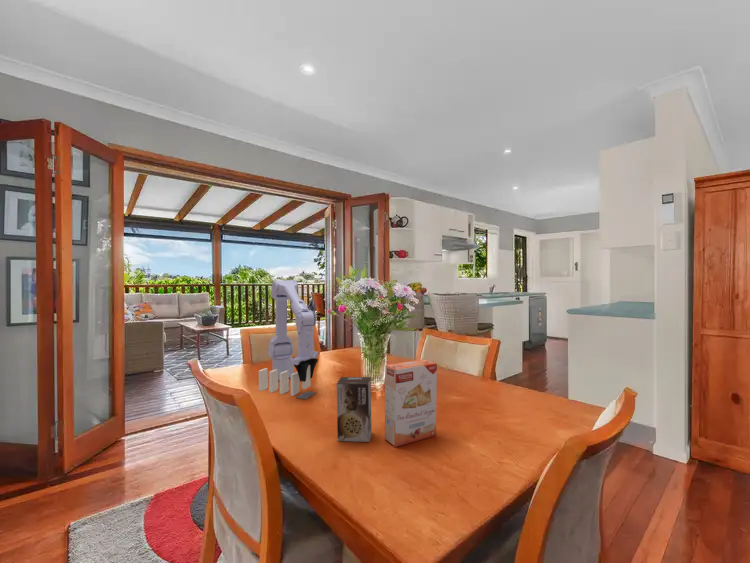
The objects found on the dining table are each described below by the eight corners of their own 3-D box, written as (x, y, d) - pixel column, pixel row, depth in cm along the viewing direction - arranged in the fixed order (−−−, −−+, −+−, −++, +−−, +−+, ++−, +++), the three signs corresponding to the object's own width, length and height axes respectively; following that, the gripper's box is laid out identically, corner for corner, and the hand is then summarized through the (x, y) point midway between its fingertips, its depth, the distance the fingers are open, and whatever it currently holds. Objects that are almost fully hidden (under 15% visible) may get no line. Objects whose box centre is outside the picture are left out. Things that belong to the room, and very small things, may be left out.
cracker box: (396, 448, 92) (395, 369, 91) (384, 439, 97) (383, 364, 97) (437, 436, 99) (437, 362, 98) (424, 428, 104) (424, 358, 104)
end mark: (306, 392, 137) (306, 391, 137) (315, 393, 135) (315, 392, 135) (296, 397, 130) (296, 397, 130) (305, 399, 129) (305, 398, 129)
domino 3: (286, 390, 139) (285, 370, 138) (288, 391, 138) (288, 370, 138) (279, 393, 135) (279, 373, 135) (282, 394, 134) (282, 373, 134)
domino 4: (296, 392, 137) (296, 371, 137) (299, 392, 136) (299, 372, 136) (290, 395, 133) (290, 374, 133) (293, 395, 133) (293, 374, 132)
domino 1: (265, 387, 142) (265, 368, 142) (267, 388, 142) (267, 368, 142) (258, 390, 139) (258, 370, 138) (261, 391, 138) (261, 370, 138)
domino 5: (307, 385, 135) (307, 364, 135) (310, 385, 134) (310, 365, 134) (301, 388, 131) (301, 367, 131) (304, 389, 131) (304, 367, 130)
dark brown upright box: (372, 432, 102) (371, 376, 101) (369, 442, 95) (369, 383, 95) (341, 431, 102) (340, 376, 102) (336, 441, 96) (336, 382, 96)
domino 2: (275, 389, 140) (275, 369, 140) (278, 389, 140) (277, 369, 140) (269, 392, 137) (268, 371, 137) (271, 392, 136) (271, 372, 136)
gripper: (304, 348, 124) (304, 386, 124) (324, 340, 138) (325, 375, 138) (287, 346, 127) (287, 384, 127) (309, 339, 140) (309, 373, 141)
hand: (306, 379), depth 133 cm, fingers closed on domino 5, 4 cm apart
